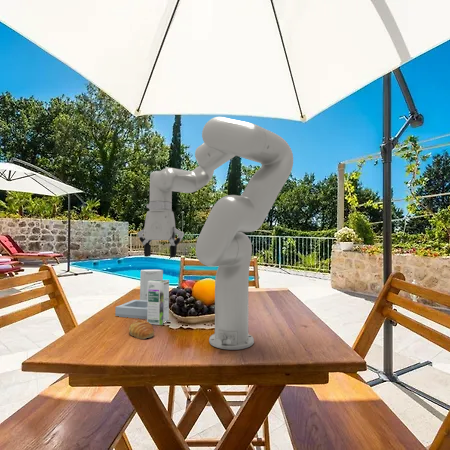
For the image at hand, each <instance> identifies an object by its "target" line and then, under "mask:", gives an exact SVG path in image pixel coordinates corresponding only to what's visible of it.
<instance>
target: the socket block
mask: <svg viewBox="0 0 450 450" xmlns="http://www.w3.org/2000/svg"><path fill="white" fill-rule="evenodd" d="M114 316H119V317H118V318H127V317H128V318H129V319H138V318H139V319H138V320H147V300H140V299H132V300H129V301H128V302H124V303H123V304H119V305H116V306H115V315H114ZM128 318H127V319H128Z"/></svg>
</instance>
